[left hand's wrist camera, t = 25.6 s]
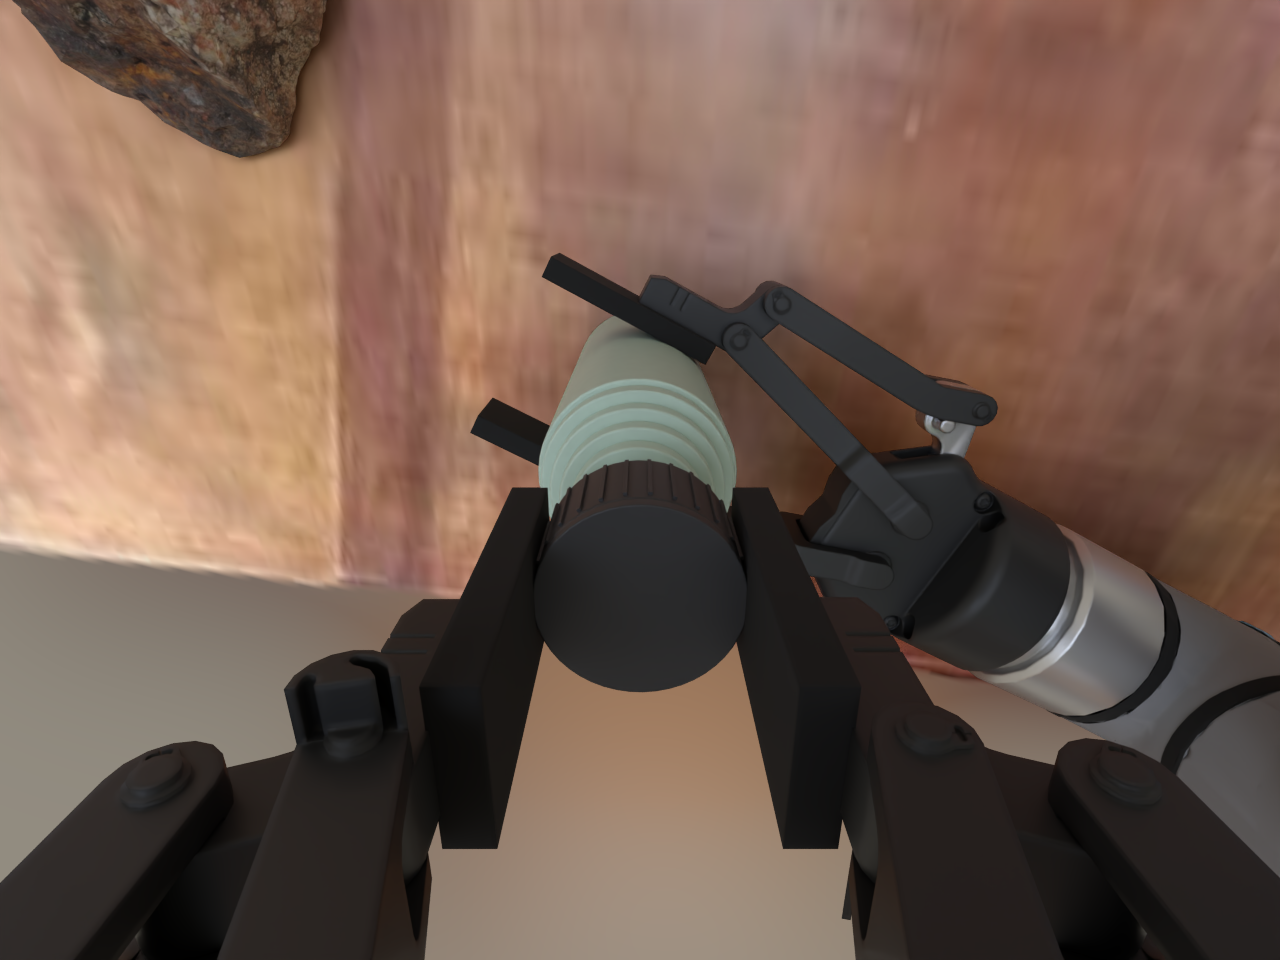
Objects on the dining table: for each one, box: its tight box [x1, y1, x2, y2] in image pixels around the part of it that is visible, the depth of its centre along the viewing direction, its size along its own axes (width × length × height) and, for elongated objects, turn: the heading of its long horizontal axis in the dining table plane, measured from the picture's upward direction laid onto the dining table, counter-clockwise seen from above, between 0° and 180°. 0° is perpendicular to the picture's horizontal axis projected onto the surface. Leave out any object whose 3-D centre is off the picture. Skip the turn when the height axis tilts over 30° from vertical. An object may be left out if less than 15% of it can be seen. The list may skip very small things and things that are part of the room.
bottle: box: [538, 316, 737, 518], centre depth 23 cm, size 6×6×20 cm
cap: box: [533, 459, 747, 692], centre depth 14 cm, size 4×4×2 cm
